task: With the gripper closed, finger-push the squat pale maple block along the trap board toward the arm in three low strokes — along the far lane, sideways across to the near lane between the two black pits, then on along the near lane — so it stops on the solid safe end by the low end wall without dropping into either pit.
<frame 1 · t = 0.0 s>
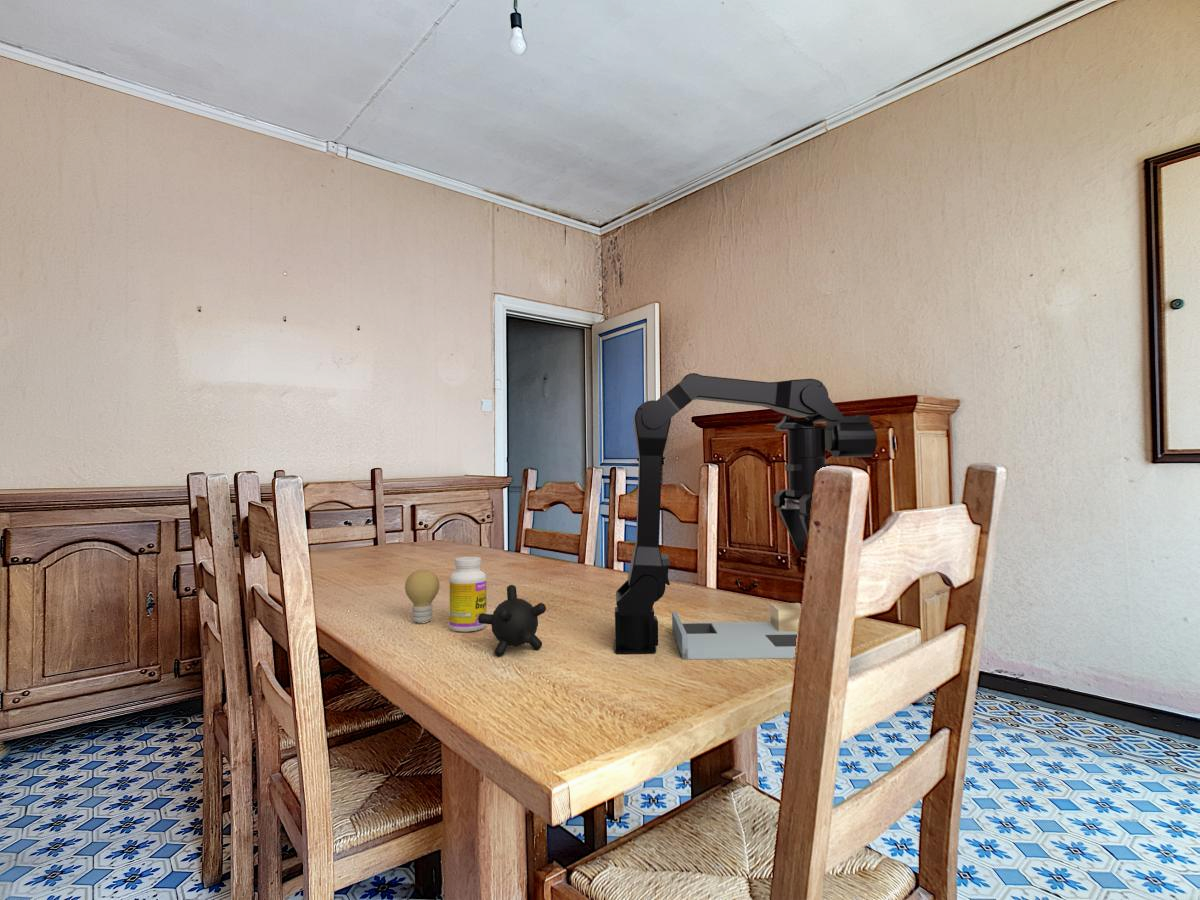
hand: (809, 554, 98), 15 cm above the table, fingers open, 9 cm apart
supplement bottle: (468, 629, 111), on the table
trap board: (747, 643, 99), on the table
light bulb: (422, 623, 117), on the table
toy ball: (517, 650, 98), on the table
block: (789, 627, 103), point 2 cm above the table, touching trap board
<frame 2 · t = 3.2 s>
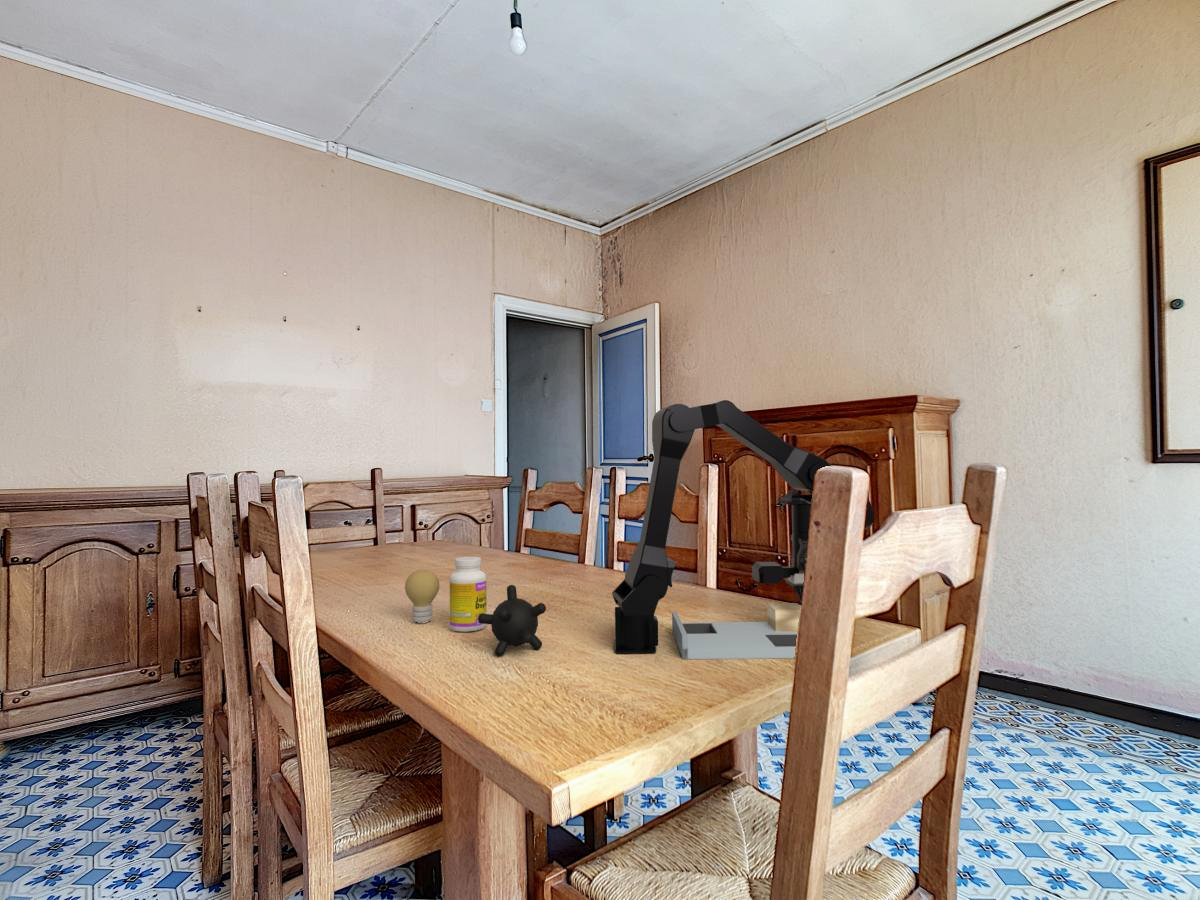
hand: (811, 623, 103), 2 cm above the table, fingers closed
block: (786, 627, 103), point 2 cm above the table, touching gripper, trap board
everything else where it was.
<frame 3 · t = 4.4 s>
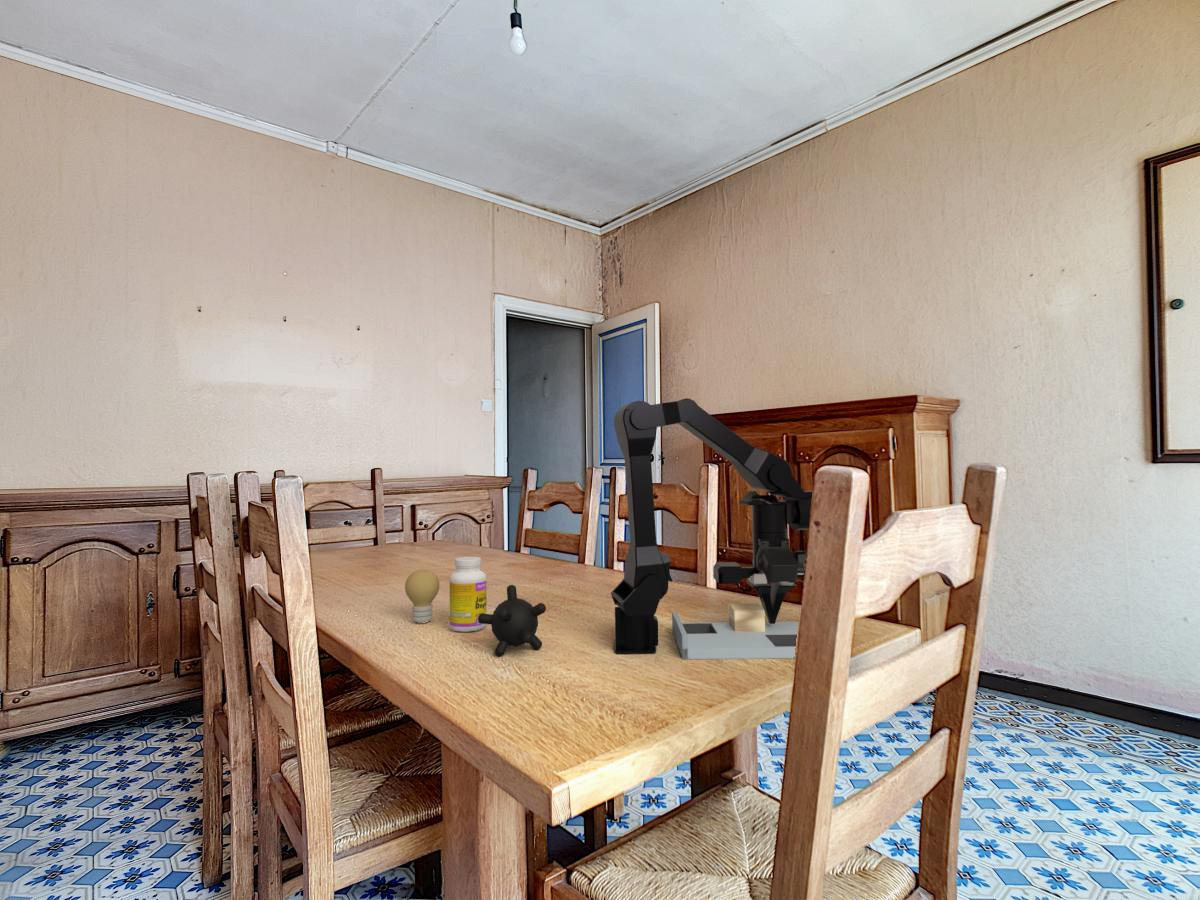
hand: (771, 623, 103), 2 cm above the table, fingers closed
block: (746, 627, 103), point 2 cm above the table, touching gripper
everything else where it was.
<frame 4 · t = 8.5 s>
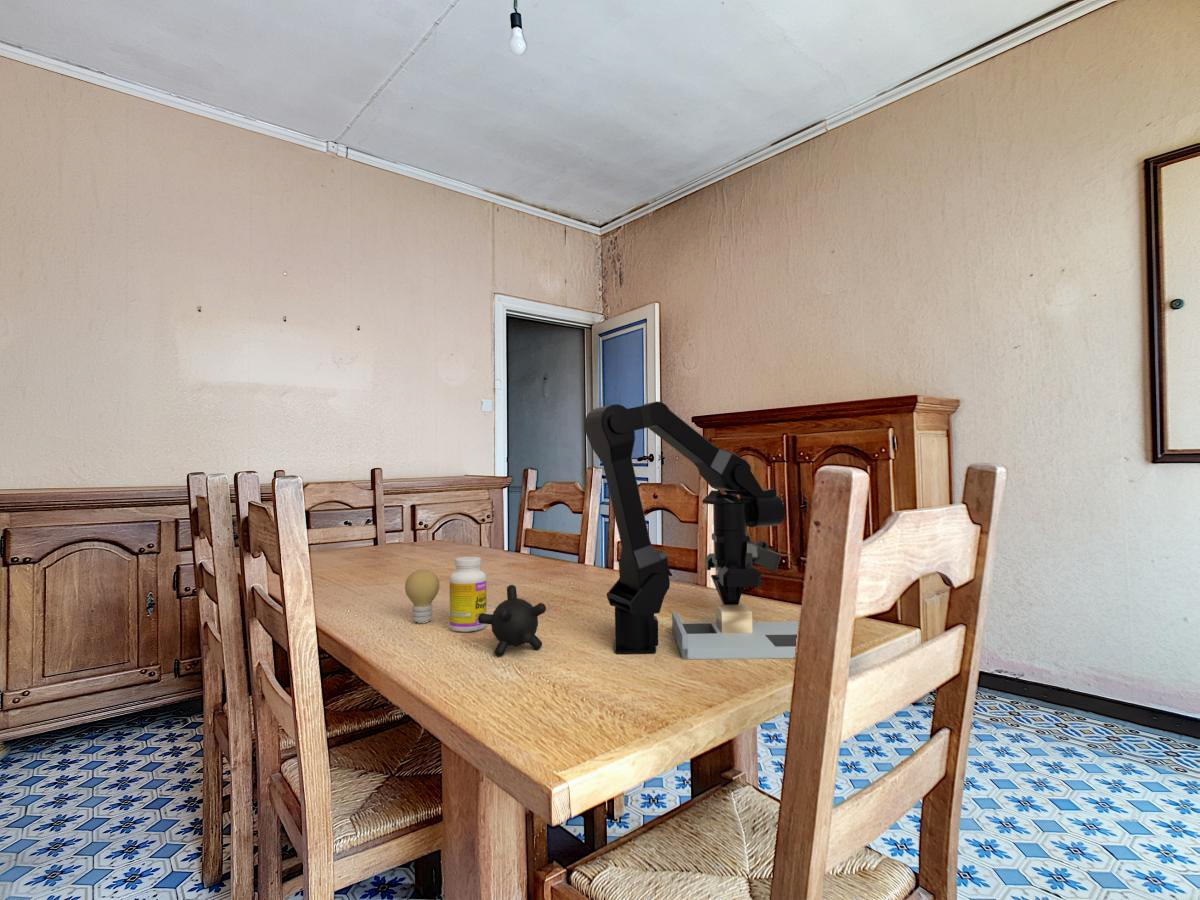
hand: (731, 618, 107), 2 cm above the table, fingers closed
block: (734, 629, 102), point 2 cm above the table, touching gripper, trap board
everything else where it was.
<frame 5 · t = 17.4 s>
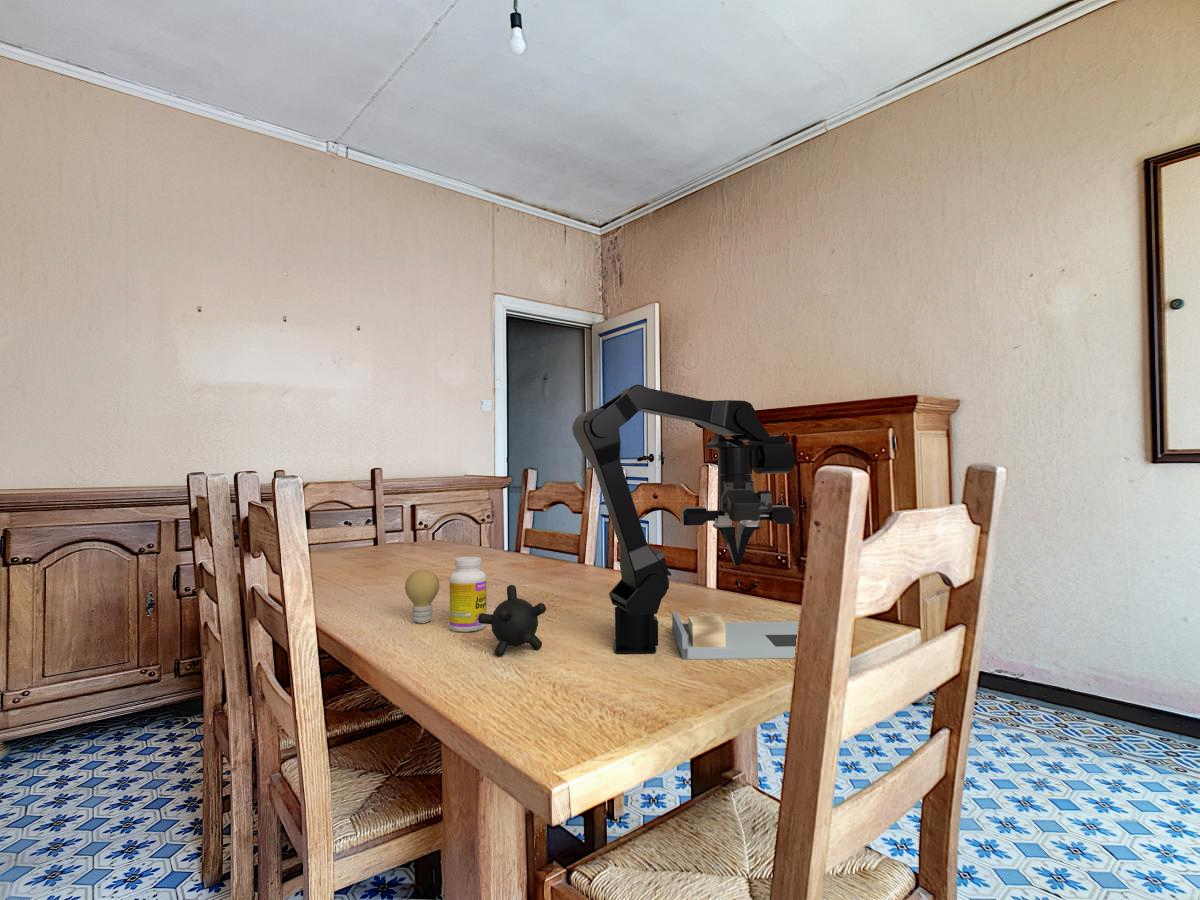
hand: (737, 565, 104), 12 cm above the table, fingers closed
block: (706, 642, 95), point 2 cm above the table, touching trap board
everything else where it was.
at the end: block inside the target area on the trap board (0.7 cm from its centre), point 1.6 cm above the trap board's base; block tilted 0° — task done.
